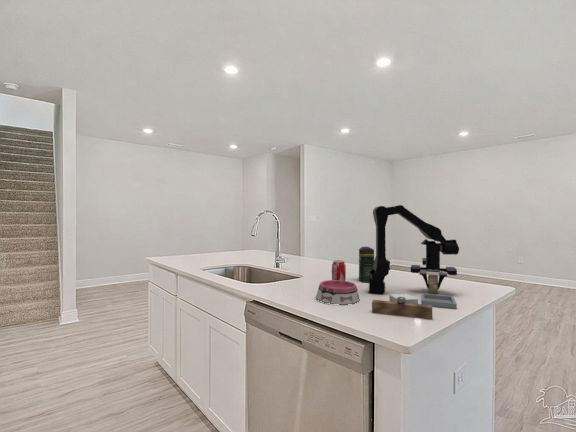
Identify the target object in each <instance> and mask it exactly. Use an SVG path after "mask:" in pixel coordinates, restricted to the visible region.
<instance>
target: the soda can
mask: <svg viewBox="0 0 576 432" xmlns="http://www.w3.org/2000/svg"><path fill="white" fill-rule="evenodd" d="M346 272H347V271H346V263H345V261H344V260H333V261H332V264H331V280H342V281H347V276H346V274H347V273H346Z"/></svg>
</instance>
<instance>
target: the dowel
mask: <svg viewBox="0 0 576 432" xmlns="http://www.w3.org/2000/svg"><path fill="white" fill-rule="evenodd" d="M427 280H428V289H427V292H428V293H427V294H433V295H439V289H438V280H439V275H436V274H428V275H427Z"/></svg>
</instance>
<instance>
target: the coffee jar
mask: <svg viewBox="0 0 576 432" xmlns="http://www.w3.org/2000/svg"><path fill="white" fill-rule="evenodd" d="M374 261H375V249H374V248H372V247H370V246H361V247H360V248H359V249H358V280H359V281H360V282H363V283H369V278H371V277H369V274H368V273H369V272H370V271H371V270H372V269H373V266H374Z"/></svg>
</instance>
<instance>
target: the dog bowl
mask: <svg viewBox="0 0 576 432" xmlns="http://www.w3.org/2000/svg"><path fill="white" fill-rule="evenodd" d="M359 294H360V293H359V291H358V287H357V285H356V283H355V282H352V281H349V280H346V281H342V280H332V279H330V280H323V281H321V282H320V283H319V285H318V290H317V292H316V297H315V299H316V301H317V300H319V301H322V302H324V303H323V304H325V303H330V304H339V305H338V306H349V305H348V304H352V305H355V303H356V304H358V303H360V302H361V298H360V295H359ZM319 301H318V302H319ZM359 301H360V302H359ZM357 302H358V303H357ZM330 304H329V305H330Z"/></svg>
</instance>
